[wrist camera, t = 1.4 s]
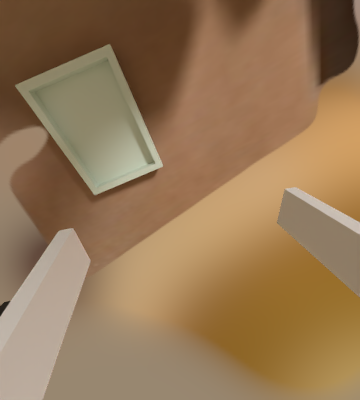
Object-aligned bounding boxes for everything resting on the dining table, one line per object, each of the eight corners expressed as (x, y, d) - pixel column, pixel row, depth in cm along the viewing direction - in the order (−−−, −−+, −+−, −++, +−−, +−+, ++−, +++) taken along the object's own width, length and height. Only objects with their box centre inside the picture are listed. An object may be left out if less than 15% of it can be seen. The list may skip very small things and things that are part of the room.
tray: (27, 87, 24) (14, 85, 21) (113, 49, 23) (109, 43, 21) (98, 189, 32) (94, 195, 30) (161, 162, 32) (163, 166, 30)
